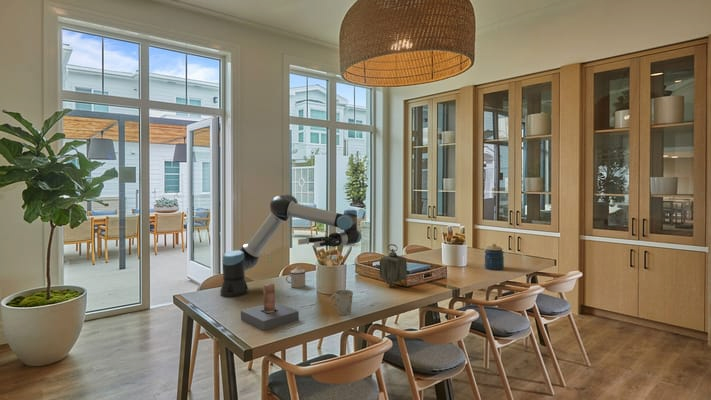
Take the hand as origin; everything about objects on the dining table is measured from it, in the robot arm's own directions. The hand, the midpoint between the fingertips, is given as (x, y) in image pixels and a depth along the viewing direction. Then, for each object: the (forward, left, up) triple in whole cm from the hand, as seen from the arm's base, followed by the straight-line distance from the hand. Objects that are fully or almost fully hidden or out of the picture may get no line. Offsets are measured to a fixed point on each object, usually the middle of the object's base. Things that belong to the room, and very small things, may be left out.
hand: (306, 243), depth 201 cm
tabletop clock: (+10, +55, -31) cm, 64 cm away
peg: (+7, -27, -31) cm, 42 cm away
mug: (+23, +2, -31) cm, 39 cm away
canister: (+31, +140, -31) cm, 147 cm away
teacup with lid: (-32, +15, -31) cm, 47 cm away
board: (+7, -27, -31) cm, 42 cm away
